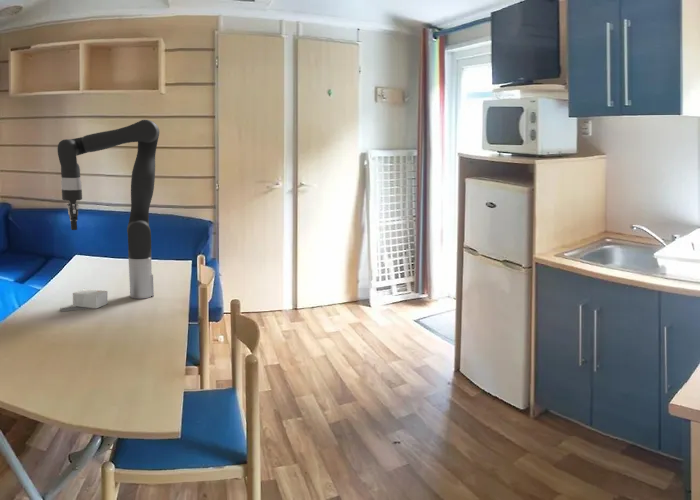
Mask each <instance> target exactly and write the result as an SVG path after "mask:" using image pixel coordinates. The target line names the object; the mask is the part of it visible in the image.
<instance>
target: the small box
mask: <svg viewBox="0 0 700 500" xmlns="http://www.w3.org/2000/svg"><path fill="white" fill-rule="evenodd" d="M107 304H108V290H101V289H100V290H99V289H92V288H83V289H80V290H77V291H74V292H72V307H74V306H78V307H87V308H91V309H99V308H101V307H103V306H106V305H107Z"/></svg>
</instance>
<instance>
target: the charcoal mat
mask: <svg viewBox="0 0 700 500" xmlns="http://www.w3.org/2000/svg"><path fill="white" fill-rule="evenodd" d="M90 309H92V308H87V307H78V306H67V307H60V312H61V313H62V312H72V311H79V310H82V311H83V310H90Z"/></svg>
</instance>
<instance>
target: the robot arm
mask: <svg viewBox="0 0 700 500" xmlns="http://www.w3.org/2000/svg"><path fill="white" fill-rule="evenodd" d="M159 137H160V129H159V126H158V124H156V123H155V122H154V121H152V120H149V119H141V120H139V121H136V122H134V123H132V124H130V125H129V124H128V125H126V126H124V127H121V128H116V129H112V130H105V131H100V132H96V133H91V134H86V135H83V136H80V137H77V138H67V139H61V140H60V141H59V142H58V144H57V156H58V160H59V164H60V174H61V175H60V177H61V180H60V188H61V199H62V201H65V202H66V201H68V204H66V208H67V212H68V213H67V214H68V217H69V221H70V229H71V231H78V220H79V218H78V217H79V204H78V203H77V201H81V200H83V189H82V180H81V169H80V165H79V163H78V159H77V156H81V155H84V154H87V153H94V152H100V151H102V150H103V151H104V150H108V149H110V148H114V147H117V146H121V145H123V144H129V143H137V154H136V158H135V161H134V163H133V167H132V172H131V180H130V214H129V218H128V222H127V226H126V232H127V246H128V247H127V248H128V249H127V252H128V253H127V254H128V256H127V258H128V277H129V280H128V281H129V297H130V298H132V299H148V298H151V296H152V297H154V296H155V293H154V292H155V291H154V290H155V289H154V274H153V273H152V272H153V269H152V232H151V230H152V229H151V227H150V220H149V219H150V218H149V217H150V214H149V213H150V206H151V203H152V198H153V195H154V189H155V181H156V153H157V148H158V147H157V145H158V142H159V139H160V138H159Z"/></svg>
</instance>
